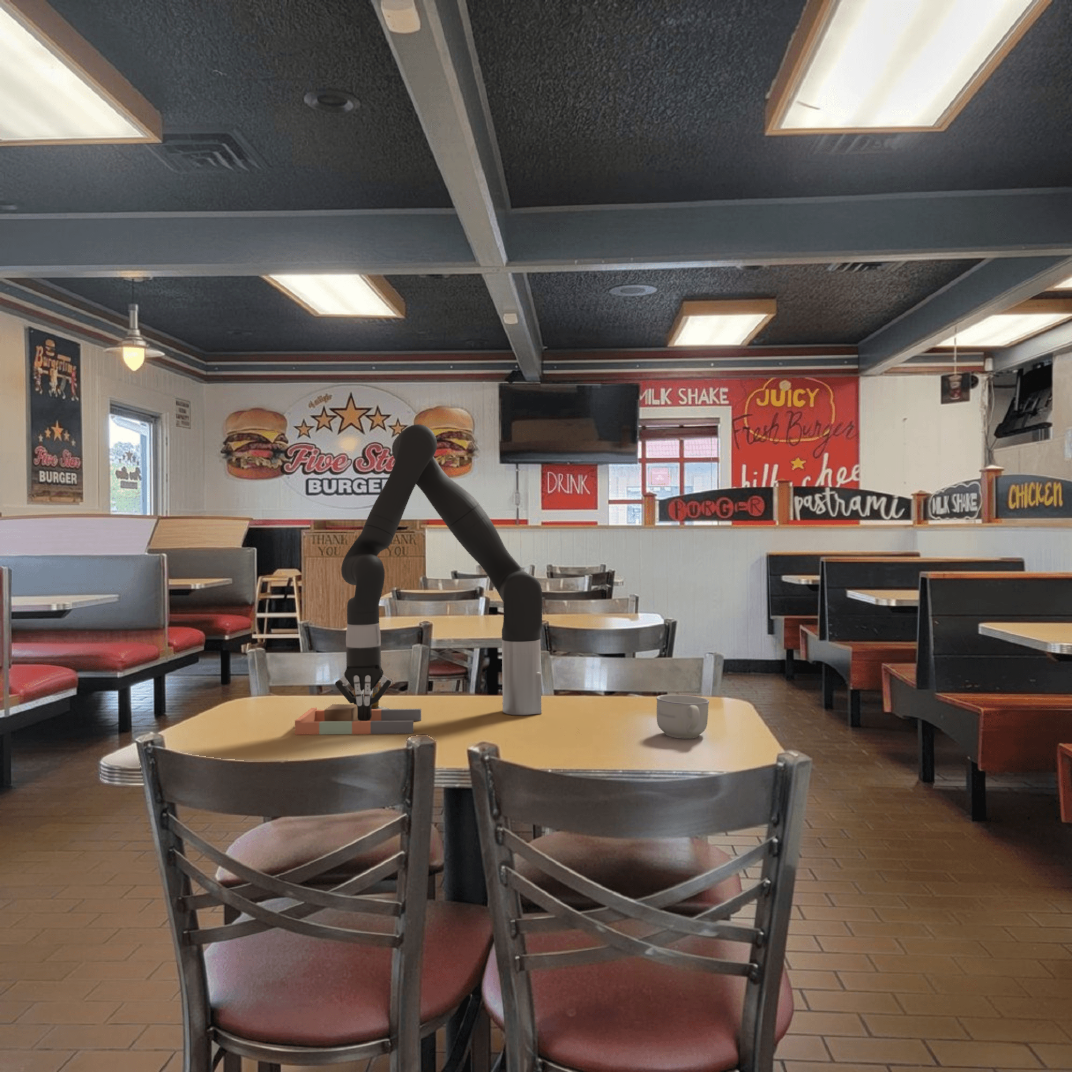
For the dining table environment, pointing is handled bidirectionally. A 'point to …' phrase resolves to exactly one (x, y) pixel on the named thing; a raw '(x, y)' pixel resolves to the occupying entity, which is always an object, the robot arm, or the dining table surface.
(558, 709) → the dining table surface
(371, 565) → the robot arm
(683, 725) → the teacup
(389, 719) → the tray
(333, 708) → the block
